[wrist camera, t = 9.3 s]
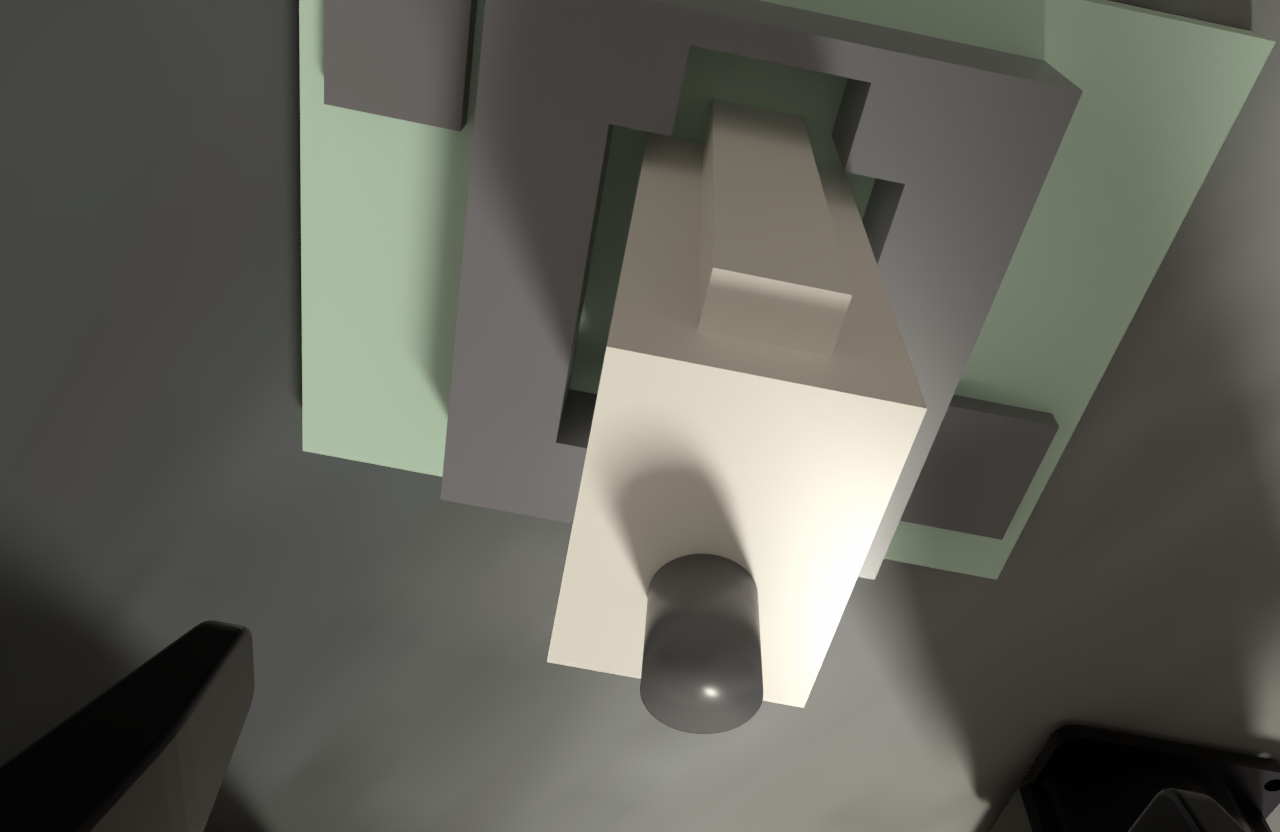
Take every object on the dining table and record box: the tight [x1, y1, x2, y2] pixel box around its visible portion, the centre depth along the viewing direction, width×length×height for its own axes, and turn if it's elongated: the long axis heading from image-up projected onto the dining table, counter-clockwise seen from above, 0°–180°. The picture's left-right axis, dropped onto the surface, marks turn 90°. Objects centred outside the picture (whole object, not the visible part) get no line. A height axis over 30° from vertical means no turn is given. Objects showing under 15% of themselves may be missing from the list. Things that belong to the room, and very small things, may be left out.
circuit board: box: [299, 0, 1276, 580], centre depth 19 cm, size 16×12×1 cm
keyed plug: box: [547, 99, 927, 734], centre depth 14 cm, size 4×6×10 cm, turn 170°
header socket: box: [440, 0, 1083, 580], centre depth 18 cm, size 9×10×2 cm
